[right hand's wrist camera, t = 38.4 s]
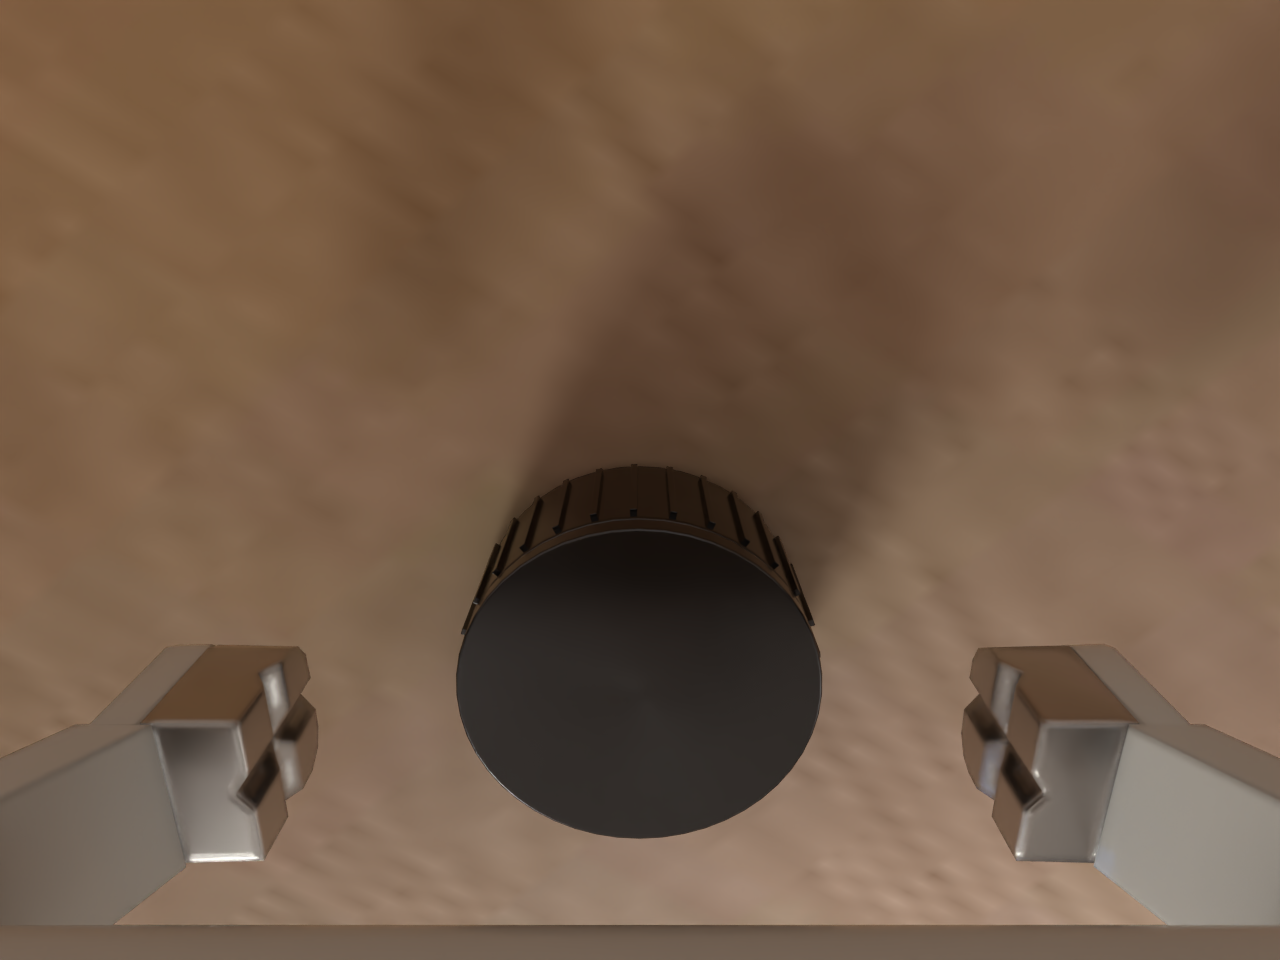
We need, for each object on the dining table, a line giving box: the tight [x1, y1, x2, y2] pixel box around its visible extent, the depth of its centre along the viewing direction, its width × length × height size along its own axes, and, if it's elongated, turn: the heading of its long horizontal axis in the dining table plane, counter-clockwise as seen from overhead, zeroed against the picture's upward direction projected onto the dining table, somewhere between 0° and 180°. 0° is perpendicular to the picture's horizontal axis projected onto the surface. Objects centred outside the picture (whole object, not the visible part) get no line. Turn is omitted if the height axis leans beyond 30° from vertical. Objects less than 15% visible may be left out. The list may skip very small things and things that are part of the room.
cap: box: [456, 464, 822, 839], centre depth 11 cm, size 5×5×2 cm
